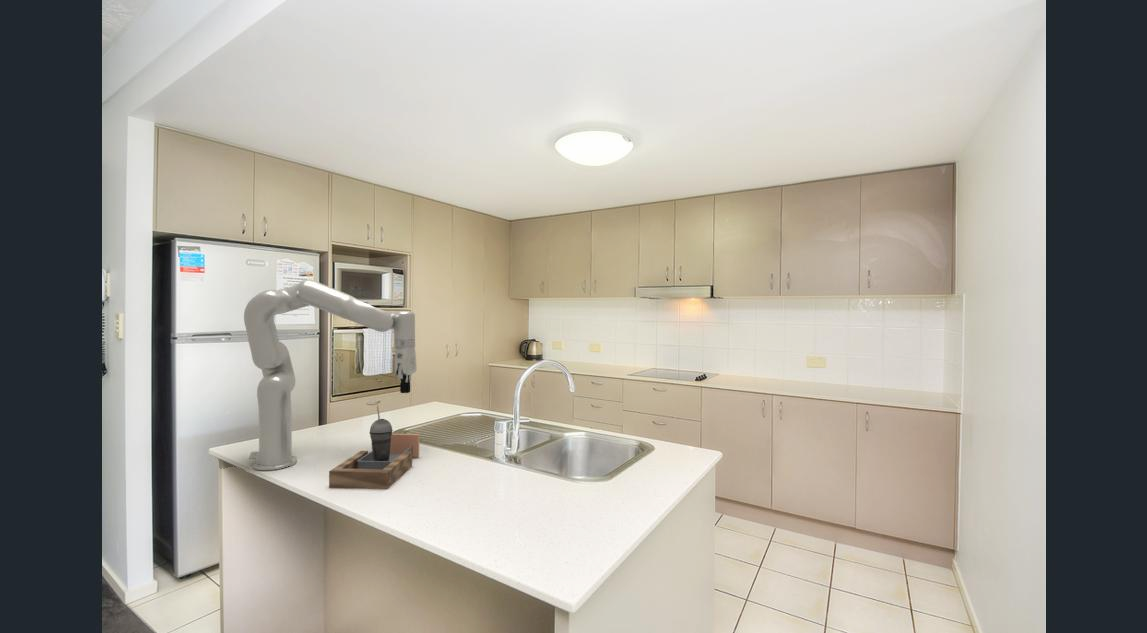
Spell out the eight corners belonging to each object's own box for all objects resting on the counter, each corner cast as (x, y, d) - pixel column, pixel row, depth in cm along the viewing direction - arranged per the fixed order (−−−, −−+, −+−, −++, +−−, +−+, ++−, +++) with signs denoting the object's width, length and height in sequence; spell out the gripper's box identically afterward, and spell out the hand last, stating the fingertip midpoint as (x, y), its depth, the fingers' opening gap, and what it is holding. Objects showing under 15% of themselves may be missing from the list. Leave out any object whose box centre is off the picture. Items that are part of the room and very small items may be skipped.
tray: (376, 454, 173) (376, 432, 173) (419, 455, 173) (419, 433, 173) (350, 473, 154) (350, 448, 154) (398, 474, 154) (398, 449, 153)
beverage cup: (387, 469, 155) (387, 408, 155) (365, 468, 155) (365, 408, 155) (396, 461, 163) (396, 403, 162) (375, 461, 163) (375, 403, 162)
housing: (361, 465, 163) (361, 450, 163) (412, 466, 163) (412, 451, 163) (329, 487, 143) (329, 471, 143) (387, 489, 143) (387, 472, 143)
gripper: (406, 345, 170) (407, 396, 171) (421, 342, 185) (422, 389, 185) (386, 345, 170) (387, 396, 171) (402, 342, 185) (403, 389, 186)
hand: (405, 392), depth 178 cm, fingers closed
